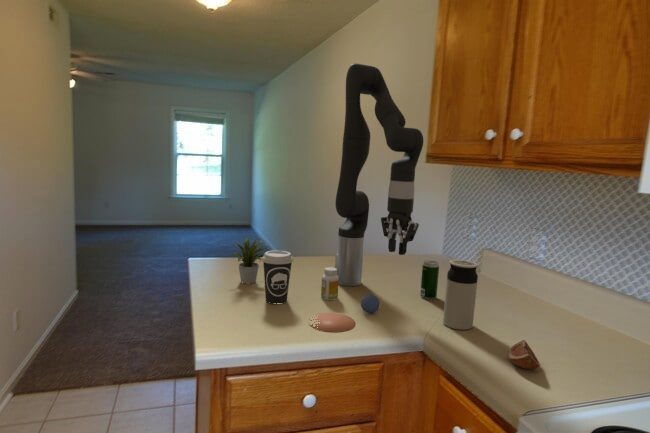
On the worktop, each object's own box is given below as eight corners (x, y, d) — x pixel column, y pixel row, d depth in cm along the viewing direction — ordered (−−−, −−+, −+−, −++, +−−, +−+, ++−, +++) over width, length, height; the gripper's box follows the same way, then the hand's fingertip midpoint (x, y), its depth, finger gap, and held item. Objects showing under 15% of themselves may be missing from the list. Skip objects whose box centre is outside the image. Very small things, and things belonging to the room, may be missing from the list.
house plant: (256, 292, 138) (257, 243, 135) (219, 285, 142) (219, 238, 139) (275, 280, 151) (276, 235, 148) (240, 275, 155) (241, 231, 153)
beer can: (428, 300, 137) (431, 265, 135) (416, 295, 141) (419, 261, 140) (439, 298, 140) (443, 263, 138) (427, 293, 144) (430, 259, 142)
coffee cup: (297, 299, 133) (299, 252, 131) (281, 308, 124) (283, 259, 122) (271, 293, 137) (272, 248, 134) (254, 302, 128) (255, 254, 126)
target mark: (299, 318, 117) (299, 317, 117) (336, 310, 125) (336, 309, 125) (326, 336, 107) (326, 335, 107) (365, 325, 114) (365, 325, 114)
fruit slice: (541, 379, 91) (544, 357, 90) (508, 372, 93) (510, 351, 92) (536, 361, 99) (539, 341, 98) (505, 356, 101) (507, 336, 100)
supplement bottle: (339, 296, 137) (341, 267, 135) (334, 302, 132) (336, 272, 130) (324, 294, 138) (325, 265, 137) (318, 299, 133) (319, 269, 132)
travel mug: (468, 333, 113) (475, 268, 110) (439, 325, 117) (445, 262, 114) (475, 323, 119) (481, 262, 117) (447, 317, 124) (453, 257, 121)
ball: (356, 311, 125) (357, 293, 124) (370, 308, 128) (371, 290, 127) (368, 317, 120) (370, 299, 119) (382, 314, 123) (384, 296, 123)
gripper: (428, 198, 121) (423, 257, 124) (393, 193, 132) (389, 247, 135) (410, 199, 117) (405, 259, 119) (375, 194, 128) (371, 249, 130)
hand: (396, 252), depth 127 cm, fingers open, 3 cm apart
